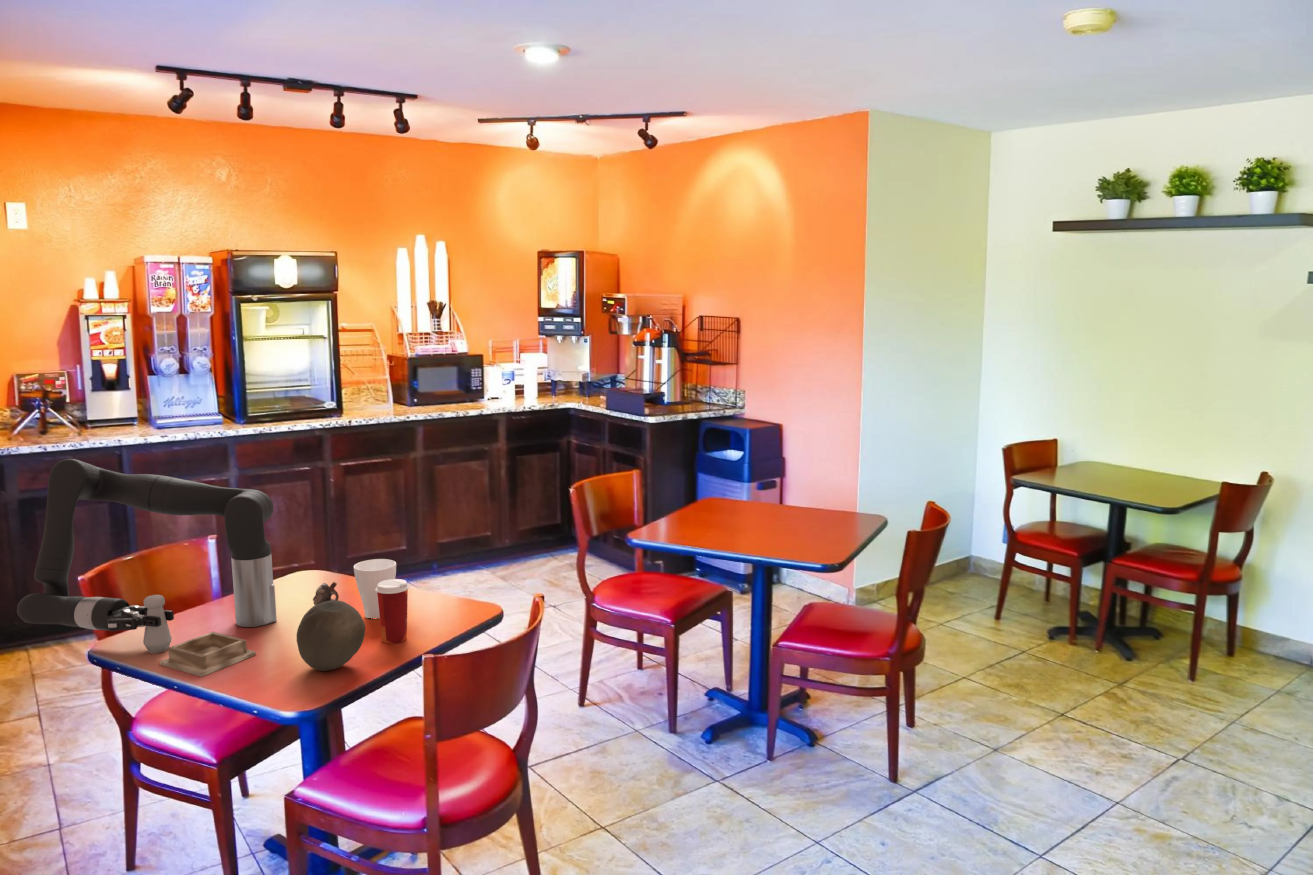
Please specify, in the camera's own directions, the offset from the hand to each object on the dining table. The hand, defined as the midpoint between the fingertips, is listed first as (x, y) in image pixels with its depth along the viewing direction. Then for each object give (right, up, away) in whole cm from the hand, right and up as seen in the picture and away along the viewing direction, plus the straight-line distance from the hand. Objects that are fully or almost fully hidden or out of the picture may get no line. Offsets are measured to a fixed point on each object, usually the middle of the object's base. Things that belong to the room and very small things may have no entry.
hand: (166, 618), depth 218 cm
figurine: (+32, -6, +15) cm, 36 cm away
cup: (+41, -4, +25) cm, 49 cm away
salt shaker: (-3, -8, +2) cm, 8 cm away
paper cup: (+50, -7, +9) cm, 51 cm away
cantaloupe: (+41, -10, -8) cm, 43 cm away
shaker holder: (+12, -9, -4) cm, 15 cm away
